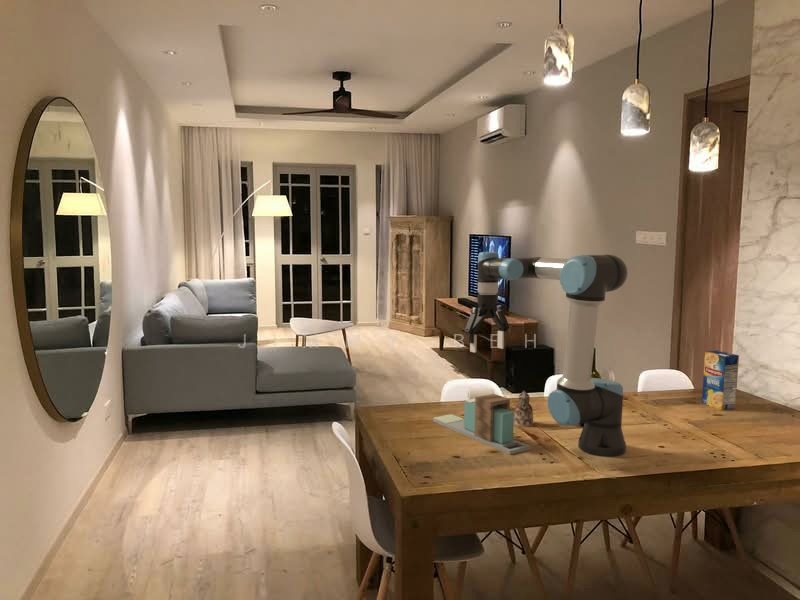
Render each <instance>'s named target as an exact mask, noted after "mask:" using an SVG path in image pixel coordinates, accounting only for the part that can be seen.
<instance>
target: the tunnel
mask: <svg viewBox="0 0 800 600" xmlns="http://www.w3.org/2000/svg"><path fill="white" fill-rule="evenodd" d="M510 401H511V399H510V398H508V397H506V396H502V395H499V394H496V393H494V394H490V395H484V396H479V397H475V436H477V437H479V438H481V439H484V440H486V441H488V442H493V406H494V405H495V406H498V407H501V408H504V409H507V410H509V411H510Z"/></svg>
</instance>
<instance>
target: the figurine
mask: <svg viewBox="0 0 800 600" xmlns="http://www.w3.org/2000/svg"><path fill="white" fill-rule="evenodd" d="M530 398H531V397H530V395H529V394H528V393H527V392H526V390H522V392H520V393H519V396H518V403H517V404H516V405H515V408H514V426H515V425H516V426H518V427H523V428H525V427H532V426H533V425H534V411H533V406H532V405H531V404H530Z"/></svg>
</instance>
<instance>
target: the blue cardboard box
mask: <svg viewBox="0 0 800 600" xmlns="http://www.w3.org/2000/svg"><path fill="white" fill-rule="evenodd" d="M739 359H740V355H738V354H734V353H730V352H726V351H722V350H719V349H718V350H717V349H716V350H705V351H704V360H703V361H704V362H703V378H702V379H703V380H702V396H701V404H702V403H703V404H702V405H705V404H706V406H708V405H709V407H711V408H714V409H717V410H720V411H728V410H735V409H736V405H737V402H736V401H737V389H738V375H739V363H740V362H739Z"/></svg>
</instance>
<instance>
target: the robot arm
mask: <svg viewBox="0 0 800 600" xmlns="http://www.w3.org/2000/svg"><path fill="white" fill-rule="evenodd" d="M477 255H478V257H477V293H478V294H477V304H478V307H471V311H470V312H471V313H470V315H469V317H468V318H469V319H468V321H467V322H466V324H465V325H466V326H465V329H464V330H463V331H464V333H466V334H467V335H468V343H469V344H470V345H469V352H470V353H477V345H478V344H477V343H478V342H477V339H478V338H477V337H478V335H477V334H476V333H477V331H478V330H479V328H480V326H481V325H482V323H483V322H484V321H485V320H488V319H491V320H492V321H493V322H494V324H495V326H496V327H497V329H498V330H497V343H496V344H497V348H498V349H502V350H503V349H504V347H505V340H506V332H508V330H510V325H509V322H508V319H507V316H506V314H505V310H504V309H505V308H504V306H503V305H498V303H499V294H498V293H499V279H500V280H506V281H516V280H518V279H521V280H522V279H539V280H540V279H542V280H553V281H554V280H556V281H559V284H560V285H561V289H562V290H563V291H564V292H565V298H566V299H567V300H568V302H569V311H568V321H567V322H568V323H567V331H566V332H567V333H566V341H565V350H564V351H565V352H564V362H563V370H562V376H561V377H560V378H558V379H557V382H556V389H553V390H552V391H551V392H550V393H549V394H548V396H547V408H548V411H549V413H550V415H551V417H552V419H553V420H554V421H555V422H556V423H557V424H559V425H561V426H563V427H570V426H572V427H573V426H578V425H581V424H583V425H584V426H583V427H582V430H581V433H580V435H579V437H578V443H577V444H578V448H579V450H581V451H582V452H585V453H587V452H588V454H590V455H596V456H602V457H617V456H620V455H624V454H625V453H626V450H627V444H626V441H625V437H624V432H623V429H622V422H623V421H622V419H623V403H624V399H623V398H624V388H623V387H624V386H623V385H622V384H621V383H620V382H617V381H614V380H611V379H605V378H599V377H598V378H597V377H596V378H595V377H592V371H593V363H594V362H593V361H594V353H595V344H596V336H597V327H598V317H599V310H600V309H599V308H600V306H601V304H602V303H604V302H605V301H606V293H608V292H614V291H616V290H618V289H620V288H621V287H623V285H624V284H625V283H626V281H627V278H628V273H629V272H628V267H627V265H626V262H625V261H624V260H623V259H622V258H620V257H619V256H617V255H615V254H580V255H575V256H572V257H570V258H554V257H550V258H549V257H542V256H537V257H536V256H534V257H504V258H503V257H502V258H501V257H500V256H499V253H498V252H497V251H481V252H479V253H478V254H477ZM616 455H617V456H616Z"/></svg>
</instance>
